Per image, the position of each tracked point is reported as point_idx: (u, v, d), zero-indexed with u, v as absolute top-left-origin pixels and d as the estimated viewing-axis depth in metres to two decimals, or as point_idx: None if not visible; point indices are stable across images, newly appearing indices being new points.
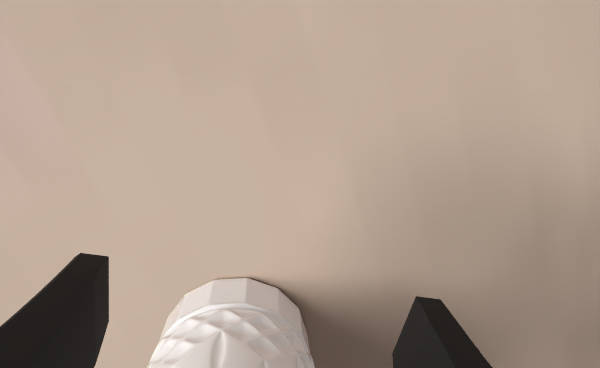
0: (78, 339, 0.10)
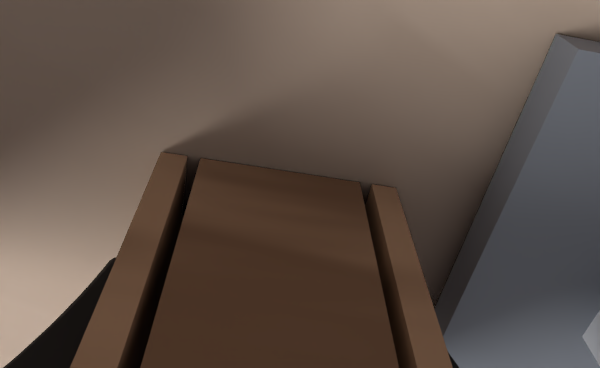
0: None
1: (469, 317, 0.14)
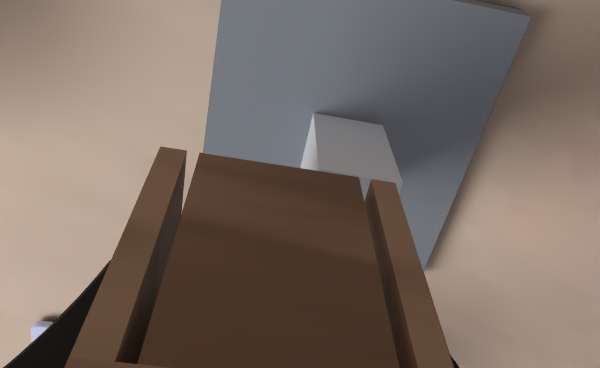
0: None
1: None
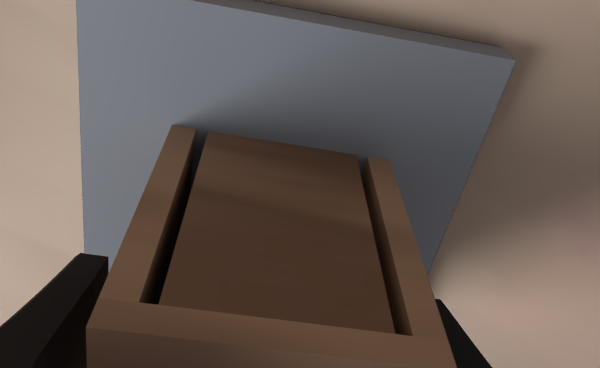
0: (78, 339, 0.10)
1: (100, 242, 0.15)
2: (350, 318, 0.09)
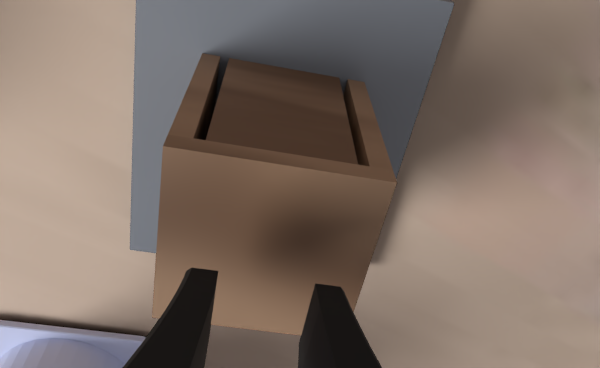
0: (201, 353, 0.11)
1: (144, 149, 0.20)
2: (329, 155, 0.13)
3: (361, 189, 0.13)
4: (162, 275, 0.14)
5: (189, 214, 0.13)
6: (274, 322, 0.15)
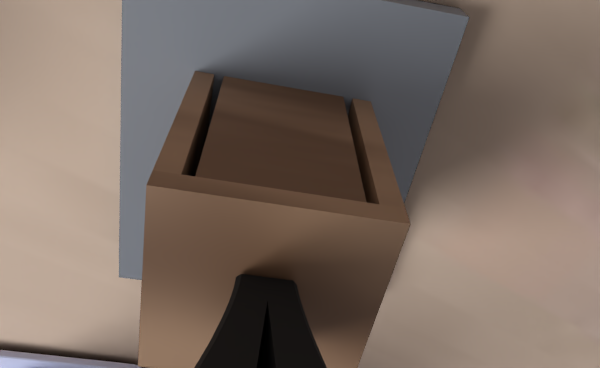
0: None
1: (133, 173, 0.18)
2: (334, 192, 0.12)
3: (370, 231, 0.12)
4: (148, 322, 0.13)
5: (177, 258, 0.12)
6: None
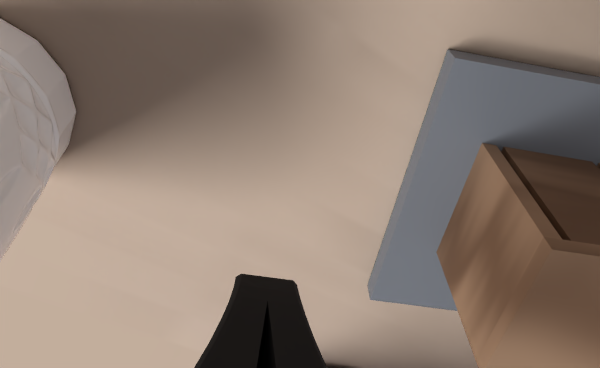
0: None
1: (409, 218, 0.23)
2: None
3: None
4: (505, 343, 0.17)
5: (549, 298, 0.16)
6: None
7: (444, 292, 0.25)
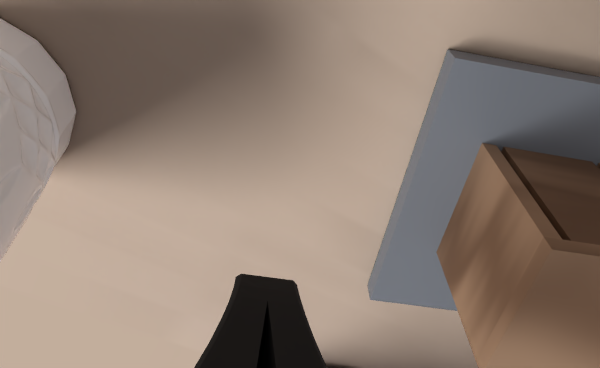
0: None
1: (409, 218, 0.23)
2: None
3: None
4: (505, 343, 0.17)
5: (549, 298, 0.16)
6: None
7: (444, 292, 0.25)
